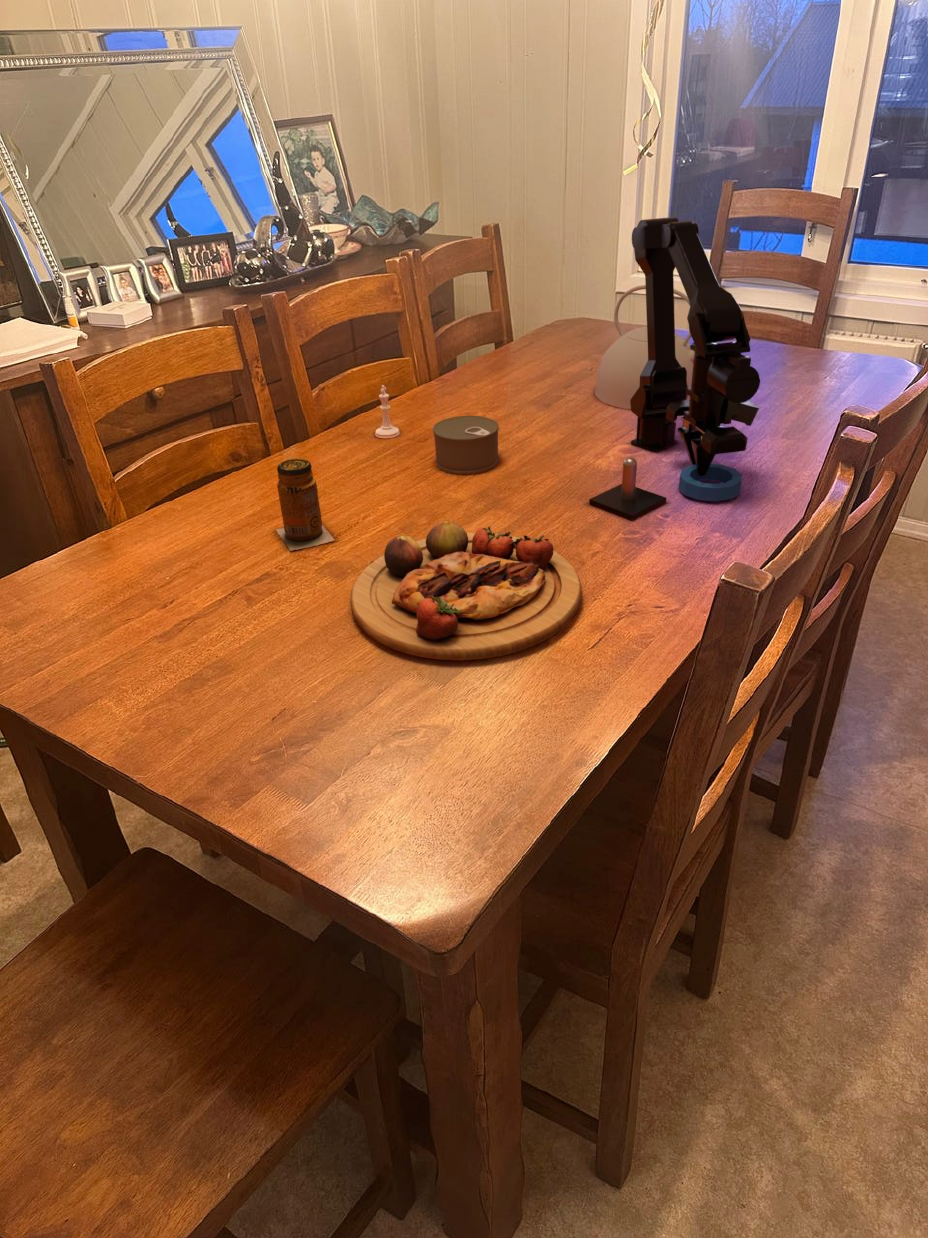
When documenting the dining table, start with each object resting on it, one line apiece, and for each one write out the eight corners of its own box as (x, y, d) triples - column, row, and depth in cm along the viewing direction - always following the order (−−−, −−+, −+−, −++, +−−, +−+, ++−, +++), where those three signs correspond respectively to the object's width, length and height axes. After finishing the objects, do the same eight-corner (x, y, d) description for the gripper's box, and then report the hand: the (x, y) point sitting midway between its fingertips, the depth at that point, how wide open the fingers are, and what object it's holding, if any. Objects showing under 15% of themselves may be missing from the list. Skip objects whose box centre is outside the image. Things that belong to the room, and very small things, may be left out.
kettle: (725, 386, 192) (739, 279, 180) (689, 418, 176) (701, 303, 164) (620, 372, 204) (626, 270, 192) (577, 401, 188) (581, 292, 176)
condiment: (318, 520, 144) (308, 452, 138) (335, 541, 138) (325, 470, 131) (275, 531, 142) (263, 461, 135) (290, 552, 135) (278, 481, 129)
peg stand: (589, 504, 145) (590, 458, 141) (623, 487, 150) (626, 443, 146) (631, 520, 139) (635, 473, 135) (666, 503, 144) (670, 457, 140)
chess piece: (371, 436, 176) (366, 388, 170) (382, 428, 179) (377, 380, 174) (393, 439, 174) (388, 390, 168) (403, 430, 178) (399, 382, 172)
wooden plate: (509, 694, 103) (508, 636, 98) (303, 624, 118) (294, 571, 113) (618, 574, 125) (621, 522, 121) (434, 528, 140) (431, 480, 136)
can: (467, 445, 170) (465, 410, 166) (512, 460, 162) (512, 424, 158) (422, 463, 163) (419, 428, 159) (467, 480, 155) (465, 444, 152)
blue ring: (667, 489, 147) (668, 475, 146) (702, 471, 153) (703, 458, 152) (717, 506, 141) (719, 493, 140) (752, 487, 147) (754, 474, 145)
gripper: (784, 396, 135) (769, 488, 143) (729, 362, 150) (718, 448, 159) (717, 404, 133) (706, 497, 142) (668, 369, 149) (661, 455, 157)
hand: (699, 473), depth 150 cm, fingers closed on blue ring, 2 cm apart
